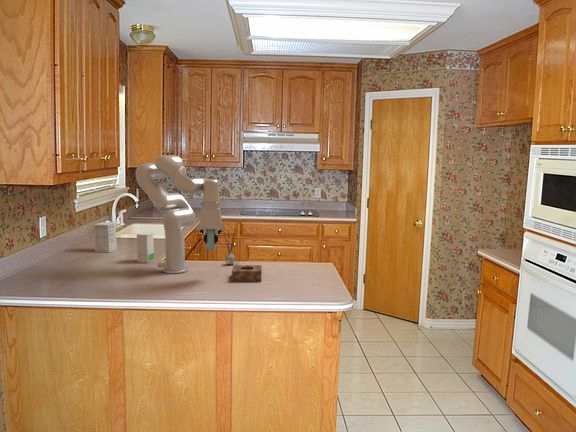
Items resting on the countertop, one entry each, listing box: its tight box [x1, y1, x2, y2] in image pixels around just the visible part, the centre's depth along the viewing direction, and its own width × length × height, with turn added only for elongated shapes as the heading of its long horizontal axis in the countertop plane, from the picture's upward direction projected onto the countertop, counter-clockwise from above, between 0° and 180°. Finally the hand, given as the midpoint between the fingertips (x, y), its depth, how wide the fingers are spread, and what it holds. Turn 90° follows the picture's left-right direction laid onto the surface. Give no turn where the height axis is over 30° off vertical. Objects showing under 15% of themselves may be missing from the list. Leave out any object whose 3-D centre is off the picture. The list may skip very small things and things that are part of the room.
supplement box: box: [93, 221, 118, 253], centre depth 306 cm, size 10×9×17 cm
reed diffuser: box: [223, 228, 241, 265], centre depth 274 cm, size 10×7×20 cm
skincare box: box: [136, 232, 155, 264], centre depth 280 cm, size 8×7×16 cm
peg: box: [206, 230, 216, 251], centre depth 244 cm, size 4×4×10 cm
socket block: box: [231, 264, 263, 283], centre depth 247 cm, size 14×12×5 cm
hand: (210, 242), depth 244 cm, fingers closed on peg, 4 cm apart
